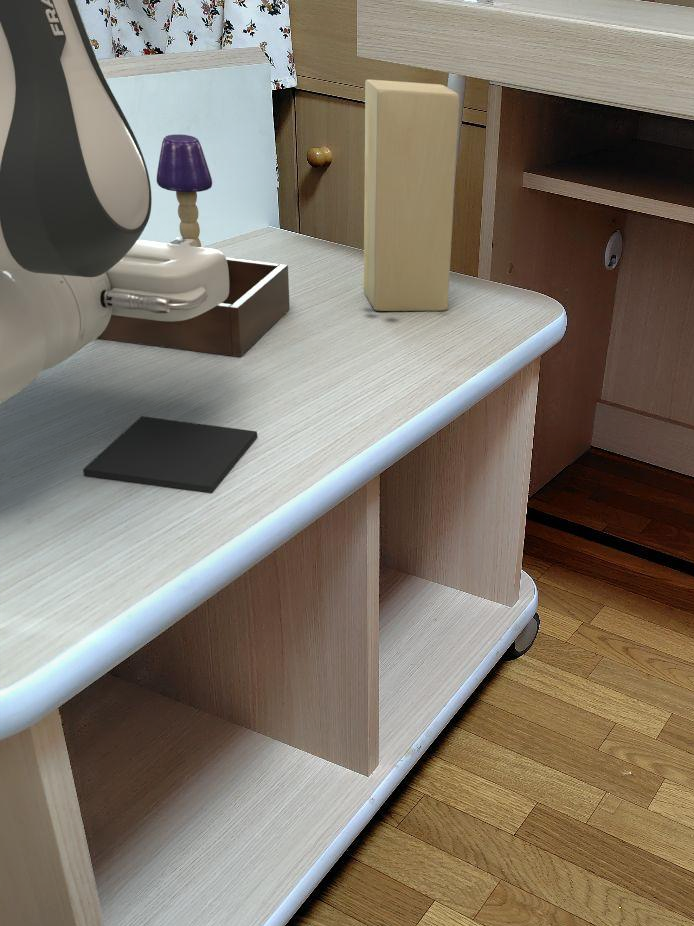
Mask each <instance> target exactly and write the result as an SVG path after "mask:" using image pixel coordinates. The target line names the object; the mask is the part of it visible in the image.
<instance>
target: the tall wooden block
mask: <svg viewBox="0 0 694 926" xmlns="http://www.w3.org/2000/svg"><path fill="white" fill-rule="evenodd" d="M364 87H365V88H364V89H365V90H364V93H365V95H364V96H365V97H364V98H365V99H364V107H365V108H364V202H363V203H364V204H363V206H364V207H363V208H364V213H363V218H364V219H363V226H364V227H363V292H364V294H365V296H366V298H367V299H368V301H369V304H370V305H371V307H372V308H373V310H374V311H376V312H377V311H378V312H396V311H397V312H401V311H402V312H403V311H404V312H406V311H407V312H408V311H412V312H413V311H415V312H417V311H418V312H419V311H424V312H425V311H428V312H429V311H434V312H435V311H447V310H448V308H449V295H450V293H449V291H450V276H451V275H450V274H451V257H452V242H453V241H452V240H453V222H454V205H455V203H454V201H455V184H456V168H457V167H456V166H457V153H458V152H457V151H458V150H457V148H458V133H459V131H458V130H459V115H460V95H459V94H458V93H457V92H456V91H454V90H453V89H451V88H449V87H447V86H446V85H444V84H439V83H438V84H437V83H424V82H423V83H422V82H410V81H398V80H397V81H396V80H383V79H382V80H380V79H369V78H368V79H366V80H365V86H364Z"/></svg>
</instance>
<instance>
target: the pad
mask: <svg viewBox="0 0 694 926" xmlns="http://www.w3.org/2000/svg"><path fill="white" fill-rule="evenodd" d="M257 438H258V431H257V430H249V429H241V428H235V427H225V426H220V425H219V426H218V425H213V424H212V425H211V424H205V423H204V424H203V423H196V422H190V421H182V420H181V421H180V420H173V419H167V418H158V417H153V416H152V417H151V416H143V415H141V416H139V418H138V419H137V420H136V421H134V422H133V423H132V424H131V425H130V426H129V427H128V428H126V430H124V431H123V432H122V433H121V434H120V435H119V436H118V437H117V438H115V440H114V441H112V442H111V444H109V445H108V446H107V447H106V448H105V449H104V450H102V451H101V453H99V454H98V455H96V457H95V458H94V459H93V460H91V461H90V462H89V463H88V464H87V465H86V466H85V467H84V468H83V469H82V471H83V476H86V477H92V478H101V479H109V480H116V481H122V482H131V483H136V484H137V483H138V484H144V485H152V486H153V485H154V486H160V487H165V488H166V487H167V488H174V489H182V490H190V491H195V492H196V491H197V492H204V493H213V492H214V490H215V489H216V488H217V487H218V485H219V484H220V483H221V482H222V481H223V479H224V478H225V477H226V476H227V475H228V473H230V471H231V470H232V468H233V467H234V466H235V465H236V464H237V462H239V460H240V459H241V458H242V457H243V455H244V454H245V453H246V452H247V450H248V449H249V448H250V446H251V445H252V444H253V443H254V442H255V440H256V439H257Z"/></svg>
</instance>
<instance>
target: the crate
mask: <svg viewBox="0 0 694 926" xmlns="http://www.w3.org/2000/svg"><path fill="white" fill-rule="evenodd" d="M225 257H226V256H225ZM226 259H227V264H228V271H229V295H228V297H227V299H226V300H225V301H223V302H222V303H220V304H219V305H217V306H215V307H214V308H212V309H210V310H208V311H206V312H204V313H202V314H200V315H198V316H196V317H194V318H191V319H187V320H183V321H157V320H149V319H141V318H133V317H125V316H117V315H111V318H110V321H109V323H108V325H107V327H106V328H105V330H104V331H103V332H102V334H101V335H100V336H99V337H97V338H96V339H98V340H99V339H102V340H108V341H114V342H115V341H116V342H123V343H129V344H138V345H146V346H154V347H161V348H169V349H177V350H184V351H193V352H201V353H208V354H216V355H224V356H230V357H231V356H232V357H239V358H241V357H242V356H244V355H245V354H246V353H247V351H249V350H250V349H251V348H252V347H253V346H254V345H255V344H256V343H257V342H258V341H259V340H260V339H261V338H262V337H263V336H264V335H265V334H266V333H267V332H268V331H270V329H272V328H273V326H274V325H276V324H277V322H279V320H280V319H282V318H283V316H284V315H286V313H287V312H288V311H289V310H290V309H291V307H290V305H291V304H290V283H289V282H290V281H289V265H288V264H283V263H282V264H280V263H273V262H266V261H258V260H250V259H241V258H233V257H226ZM285 312H286V313H285Z"/></svg>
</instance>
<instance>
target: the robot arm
mask: <svg viewBox="0 0 694 926" xmlns="http://www.w3.org/2000/svg"><path fill="white" fill-rule="evenodd" d="M146 163H147V162H146V160H145V158H144V155H143V152H142V149H141V146H140V144H139V142H138V140H137V138H136V135H135V133H134V131H133V129H132V127H131V125H130V123H129V122H128V119H127V117H126V116H125V114H124V112H123V109H122V107H121V106H120V104H119V102H118V100H117V98H116V96H115V95H114V93H113V91H112V89H111V86H110V85H109V82H108V81H107V78H106V75H105V73H104V71H103V70H102V67H101V64H100V62H99V59H98V57H97V54H96V51H95V49H94V46H93V42H92V40H91V38H90V35H89V33H88V30H87V27H86V25H85V22H84V19H83V16H82V14H81V11H80V8H79V6H78V3H77V0H0V405H1V404H3V403H4V402H6V401H8V400H9V399H10V398H12V397H14V396H16V395H17V394H18V393H20V392H22V390H24V389H26V388H27V387H28V386H29V385H31V384H32V383H33V382H34V381H35V380H36V379H37V377H38V376H39V374H40V373H41V372H43V371H47V370H50V369H53V368H55V367H57V366H59V365H61V364H62V363H63V362H65V361H66V360H68V359H69V358H70V357H72V356H73V355H75V354H76V353H77V352H79V351H81V350H82V349H84V348H85V347H86V346H88V345H89V344H91V343H92V342H94V341H95V340H96V339H98V338H97V337H99V336H100V335H101V334H102V332H103V331H104V330H105V328H106V327H107V325H108V323H109V321H110V318H111V315H117V316H125V317H133V318H141V319H149V320H157V321H183V320H187V319H191V318H194V317H196V316H198V315H200V314H202V313H204V312H206V311H208V310H210V309H212V308H214V307H215V306H217V305H219V304H220V303H222V302H223V301H225V300H226V299H227V297H228V295H229V271H228V264H227V259H226V255H225V254H224V253H223V252H221V251H220V250H218V249H215V248H209V247H202V246H201V247H198V245H197V241H196V240H194V239H186V238H182V237H176V238H175V239H173V240H171V241H169V243H167V242H160V241H151V240H145V239H144V240H143V239H140V237H141V236H142V235H143V232H144V230H146V226H147V225H148V223H149V220H150V217H151V214H152V213H151V211H152V204H153V203H152V197H153V196H152V186H151V180H150V175H149V171H148V167H147V164H146Z"/></svg>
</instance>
